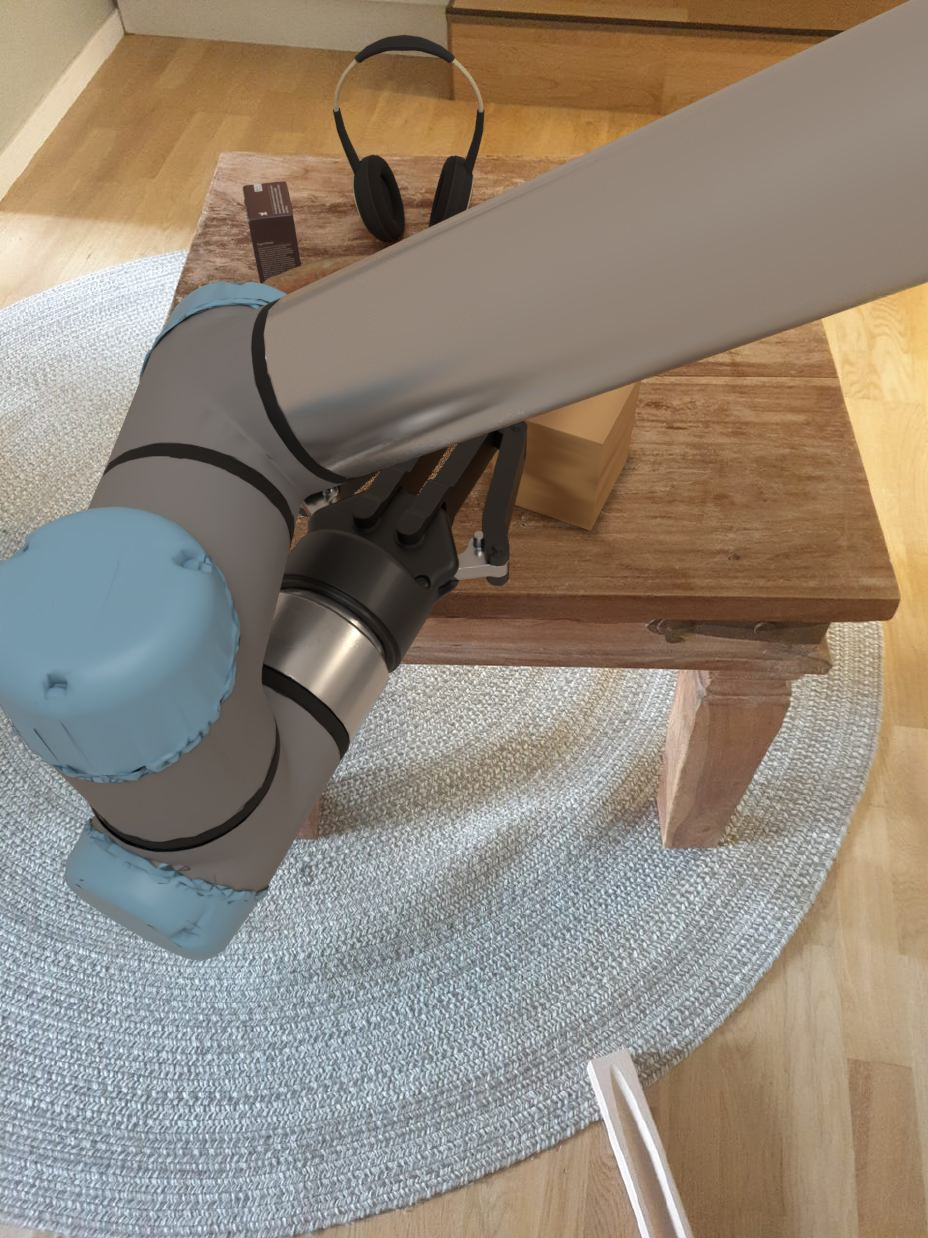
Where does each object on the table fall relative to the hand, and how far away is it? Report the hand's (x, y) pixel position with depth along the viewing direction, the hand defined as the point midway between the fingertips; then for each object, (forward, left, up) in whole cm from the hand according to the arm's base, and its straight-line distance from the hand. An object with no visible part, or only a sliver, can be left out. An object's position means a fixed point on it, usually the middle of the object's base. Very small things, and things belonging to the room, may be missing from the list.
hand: (520, 344), depth 57 cm
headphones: (+15, -44, -22) cm, 51 cm away
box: (+26, -30, -22) cm, 45 cm away
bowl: (+15, -19, -22) cm, 33 cm away
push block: (-3, -10, -22) cm, 24 cm away
